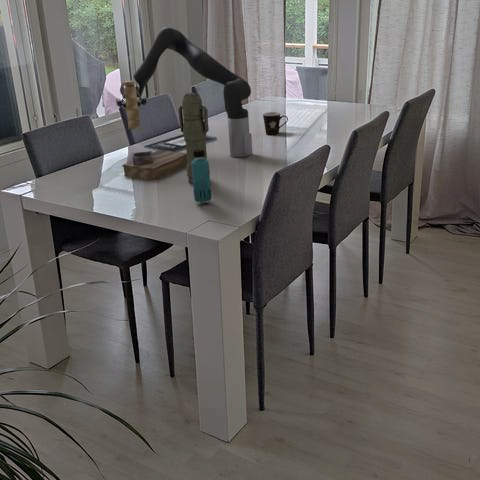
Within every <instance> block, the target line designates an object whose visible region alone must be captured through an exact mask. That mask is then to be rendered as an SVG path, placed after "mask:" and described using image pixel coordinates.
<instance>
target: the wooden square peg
mask: <svg viewBox="0 0 480 480" xmlns="http://www.w3.org/2000/svg"><path fill="white" fill-rule="evenodd" d="M124 82H125V86H124V93H125V101H126V108H125V110H126V117H127V124H128V126H127V127H128V130H138V129H141V121H140V112H139V107H138V103H137V93H136V86H137V85H136V84H135V81H134V80H125V81H124Z"/></svg>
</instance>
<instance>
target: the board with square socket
mask: <svg viewBox="0 0 480 480" xmlns="http://www.w3.org/2000/svg"><path fill="white" fill-rule="evenodd" d="M187 164H188V161H187V152H182V151H179V152H171V151H161V150H154V151H151V150H149V151H139V152H132V160H131V161H129V162H126V163H123V164H122V165H121V166H122V168H123V174H124V177H128V178H136V179H145V180H150V181H155V180H157V179H160V178H162V177H164V176H167V175H170V173H172V172H175V171H177V170H179V169H181V168H184V167H187Z"/></svg>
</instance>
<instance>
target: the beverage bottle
mask: <svg viewBox="0 0 480 480" xmlns="http://www.w3.org/2000/svg"><path fill="white" fill-rule="evenodd" d="M193 156H194V157H203V156H205V153H204V150H203V149H196V150H194V151H193ZM208 164H209V160H208V159H207V160H206V159H205V158H196V159H194V160H193V161H192V162H191V165H192V175H193V184H192V185H193V198H194V201H195V202H196V203H197V202H198V203H206V202H209V201H211V200H212V197H213V196H212V195H213V194H212V186H211V178H210V177H211V176H210V175H209V173H210V164H209V165H208ZM210 174H211V173H210Z"/></svg>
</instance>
